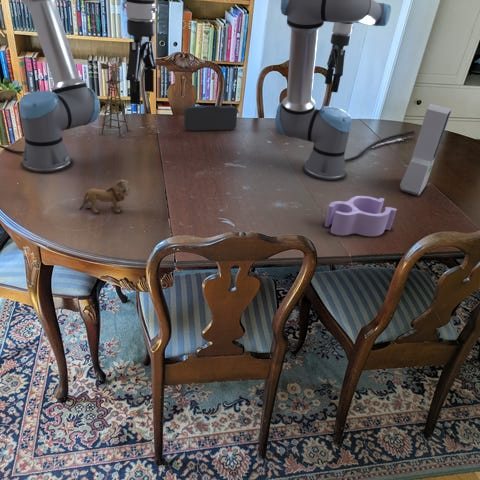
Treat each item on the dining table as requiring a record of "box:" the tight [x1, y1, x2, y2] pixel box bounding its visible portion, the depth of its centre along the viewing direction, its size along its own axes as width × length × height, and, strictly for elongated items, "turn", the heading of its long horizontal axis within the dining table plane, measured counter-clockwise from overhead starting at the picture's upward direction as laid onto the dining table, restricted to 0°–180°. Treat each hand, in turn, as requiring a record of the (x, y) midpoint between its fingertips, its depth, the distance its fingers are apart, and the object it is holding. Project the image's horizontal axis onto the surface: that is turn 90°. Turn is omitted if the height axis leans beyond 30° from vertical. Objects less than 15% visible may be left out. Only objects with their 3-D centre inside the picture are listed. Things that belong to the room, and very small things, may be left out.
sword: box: [371, 136, 412, 150], centre depth 209 cm, size 31×3×1 cm, turn 126°
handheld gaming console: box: [183, 105, 239, 132], centre depth 200 cm, size 23×3×10 cm, turn 108°
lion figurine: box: [78, 179, 131, 214], centre depth 135 cm, size 15×5×9 cm, turn 110°
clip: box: [324, 195, 398, 237], centre depth 141 cm, size 20×12×7 cm, turn 109°
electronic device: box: [399, 103, 452, 197], centre depth 162 cm, size 12×8×30 cm, turn 148°
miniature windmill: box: [100, 54, 130, 138], centre depth 181 cm, size 9×8×30 cm
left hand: (142, 97), depth 139 cm, fingers open, 13 cm apart
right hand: (330, 87), depth 198 cm, fingers open, 13 cm apart
